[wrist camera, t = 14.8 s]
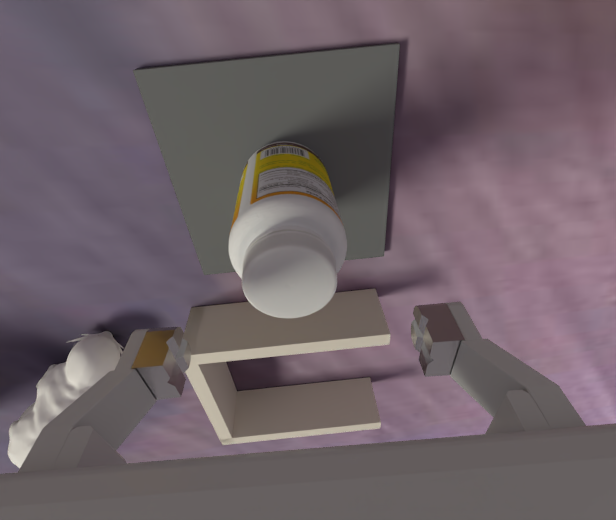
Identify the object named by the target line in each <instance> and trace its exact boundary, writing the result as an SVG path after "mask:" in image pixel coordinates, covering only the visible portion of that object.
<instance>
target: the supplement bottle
mask: <svg viewBox="0 0 616 520" xmlns="http://www.w3.org/2000/svg"><path fill="white" fill-rule="evenodd" d="M346 252H347V239H346V234H345V230H344V226H343V223H342V220H341V217H340V213H339V210H338V207H337V203H336V200H335V197H334V193H333V190H332V187H331V183H330V180H329V176H328V173H327V170H326V168H325V166H324V164H323V162H322V161H321V159H320V158H319V157H318V156H317V155H316V154H315V153H314V152H313V151H312V150H310V149H309V148H307V147H305V146H303V145H301V144H298V143H294V142H287V141H282V142H275V143H271V144H268V145H266V146H264V147H262V148H260V149H259V150H257V151H256V152H255V153H254V154H253V155H252V156H251V157H250V158H249V160H248V161H247V163H246V165H245V167H244V169H243V172H242V177H241V182H240V187H239V192H238V196H237V201H236V206H235V211H234V216H233V221H232V226H231V231H230V236H229V256H230V260H231V263H232V266H233V268H234V269H235V271H236V272H237V274H238V275H239V276H240V277H241V278H242V288H243V292H244V295H245V296H246V298H247V300H248V301H249V302H250V303H251V305H252V306H254V307H255V308H256V309H258V310H259V311H261V312H263V313H265V314H267V315H270V316H273V317H278V318H299V317H303V316H307V315H310V314H312V313H315V312H317V311H318V310H320V309H322V308H323V307H324V306H325V305H326V304H327V303H328V302H329V301H330V300H331V299H332V297H333V295H334V294H335V291H336V288H337V273H338V272H339V270H340V269H341V267H342V265H343V263H344V260H345V257H346Z"/></svg>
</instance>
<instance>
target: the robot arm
mask: <svg viewBox="0 0 616 520" xmlns="http://www.w3.org/2000/svg"><path fill="white" fill-rule="evenodd" d="M413 314H414V317H415V320H414V321H412V324H411V337H412V341H413V344H414V347H415V349H416V350H417V351H419V352H420V356H419V361H420V364H421V367H422V370H423V372H424V375H425V376H442V375H450V377H451V378H452V379H454V380H455V381H456V382H457V383H458V384H459V385H460V386H461V387H462V388H463V389H464V390H465V391H466V392H467V393H468V394H469V395H470V396H471V397H473V398H474V399H475V400H476V401H477V402H478V403H479V404H480V405H481V406H482V407H483V408H484V409H485V410H486V411H487V412H488V413H489V414H491V415H492V416H493V417H494V418H493V420H492V422H491V424H490V426H489V428H488V430H487V432H486V433H485V434H482V435H470V436H458V437H446V438H434V439H421V440H409V441H397V442H385V443H372V444H360V445H347V446H335V447H323V448H310V449H298V450H286V451H274V452H262V453H250V454H238V455H225V456H213V457H201V458H189V459H177V460H164V461H152V462H140V463H128V464H127V463H126V461H125V459H124V458H123V457H122V456H121V455H120V454H119V453H118V452H117V451H116V450H117V449H118V448H119V446H120V445H121V444H122V443H123V441H124V440H125V439H126V438H127V437H128V435H129V434H130V433H131V432H132V430H133V429H134V428H135V427H136V426H137V424H138V423H139V422H140V421H141V420H142V418H143V417H144V416H145V415H146V413H147V412H148V411H149V410H150V409H151V407H152V406H153V405H154V404H155V402H156V400H159V399H168V398H177V397H181V395H182V392H183V388H184V384H185V381H186V379H185V377H184V375H183V373H184V372H185V371H186V370H187V369H188V368H189V365H190V361H191V350H190V345H189V343H188V341H186V340H184V339H183V334H184V333H183V331H182V329H181V327H167V328H151V329H138V330H135V331H134V332H133V333H132V334H131V336H130V338H129V340H128V342H127V344H126V347H125V349H124V351H123V353H122V355H121V357H120V359H119V362H118V364H117V366H116V368H115V370H114V371H109V372H108V373H107V374H106V375H105V376H103V377H102V378H101V379H100V380H99V381H98V382H96V383H95V384H94V385H93V386H92V387H91V388H89V389H88V390H87V391H86V392H85V393H84V394H82V395H81V396H80V397H79V398H78V399H76V400H75V401H74V402H73V403H72V404H71V405H69V406H68V407H67V408H66V409H65V410H64V411H62V412H61V413H60V414H59V415H58V416H57V417H55V418H54V419H53V420H52V421H51V422H49V423H48V424H47V425H46V426H45V427H44V428H43V429H42V431H41V432H40V434H39V436H38V438H37V439H36V441H35V443H34V445H33V446H32V448H31V450H30V452H29V453H28V455H27V457H26V459H25V460H24V462H23V464H22V466H21V467H20V469H19V471H18V473H5V474H0V520H616V424H604V425H592V426H586V425H585V423H584V422H583V421H582V419H581V418H580V416H579V415H578V413H577V412H576V410H575V409H574V407H573V406H572V405H571V403H570V402H569V400H568V399H567V397H566V396H565V394H564V393H563V391H562V390H561V389H560V387H559V386H558V385H557V384H555V383H554V382H552V381H551V380H549V379H548V378H546V377H545V376H543V375H542V374H540V373H539V372H537V371H535V370H534V369H532V368H531V367H529V366H528V365H526V364H525V363H523V362H522V361H520V360H519V359H517V358H516V357H514V356H513V355H511V354H510V353H508V352H507V351H505V350H504V349H502V348H500V347H499V346H497V345H496V344H494V343H493V342H491V341H490V340H488V339H482V337H481V335H480V333H479V332H478V330H477V328H476V326H475V325H474V323H473V321H472V319H471V318H470V316H469V314H468V312H467V311H466V309H465V307H464V305H463V304H462V303H461V302H451V303H439V304H429V305H419V306H415V308H414V312H413Z"/></svg>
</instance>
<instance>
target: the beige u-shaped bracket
mask: <svg viewBox="0 0 616 520" xmlns="http://www.w3.org/2000/svg"><path fill="white" fill-rule="evenodd" d="M183 339H184V340H186V341H188V343H189V345H190V350H191V361H190V365H189V368H188V369H187V370H186V371H185V372H186V374H187V376H188V378H189V380H190V382H191V384H192V386H193V388H194V390H195V392H196V394H197V396H198V398H199V400H200V402H201V404H202V406H203V408H204V409H205V411H206V413H207V415H208V417H209V419H210V421H211V423H212V425H213V427H214V429H215V431H216V433H217V435H218V437H219V439H220V441H221V443H222V445H228V444H237V443H247V442H256V441H265V440H275V439H284V438H293V437H303V436H312V435H322V434H331V433H340V432H350V431H359V430H368V429H378V428H380V426H381V421H380V417H379V413H378V408H377V404H376V400H375V396H374V392H373V388H372V383H371V379H370V377H367V378H358V379H348V380H339V381H330V382H320V383H311V384H301V385H292V386H282V387H273V388H263V389H254V390H244V391H237V390H236V387H235V384H234V382H233V379H232V376H231V374H230V371H229V368H228V366H227V363H226V362H227V361H236V360H246V359H255V358H265V357H274V356H284V355H293V354H303V353H312V352H322V351H331V350H341V349H351V348H360V347H370V346H379V345H389V343H390V331H389V328H388V325H387V322H386V319H385V316H384V313H383V310H382V307H381V304H380V301H379V298H378V295H377V292H376V289H366V290H356V291H346V292H337V293H335V294H334V295H333V297H332V299H331V300H330V301H329V302H328V303H327V304H326V305H325V306H324V307H323V308H322V309H320V310H318V311H317V312H315V313H312V314H310V315H307V316H303V317H299V318H278V317H273V316H270V315H267V314H265V313H263V312H261V311H259V310H258V309H256V308H255V307H254V306H252V305H251V303H250V302H241V303H231V304H221V305H212V306H202V307H193V308H191V310H190V314H189V317H188V321H187V324H186V328H185V332H184V335H183Z"/></svg>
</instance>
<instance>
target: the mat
mask: <svg viewBox="0 0 616 520" xmlns="http://www.w3.org/2000/svg"><path fill="white" fill-rule="evenodd" d="M399 48H400V44H399V43H391V44H381V45H371V46H361V47H351V48H341V49H331V50H321V51H311V52H301V53H291V54H281V55H271V56H261V57H251V58H241V59H231V60H221V61H211V62H201V63H191V64H181V65H171V66H161V67H151V68H141V69H135V70H133V72H134V75H135V78H136V81H137V84H138V87H139V90H140V92H141V95H142V98H143V101H144V104H145V107H146V110H147V113H148V115H149V118H150V121H151V124H152V127H153V130H154V133H155V135H156V138H157V141H158V144H159V147H160V150H161V153H162V156H163V158H164V161H165V164H166V167H167V170H168V173H169V176H170V178H171V181H172V184H173V187H174V190H175V193H176V196H177V199H178V201H179V204H180V207H181V210H182V213H183V216H184V219H185V221H186V224H187V227H188V230H189V233H190V236H191V239H192V242H193V244H194V247H195V250H196V253H197V256H198V259H199V262H200V264H201V267H202V270H203V273H204V275H208V274H218V273H227V272H236V271H235V269H234V268H233V266H232V263H231V260H230V256H229V236H230V231H231V226H232V221H233V216H234V211H235V206H236V201H237V196H238V192H239V187H240V182H241V177H242V172H243V169H244V167H245V165H246V163H247V161H248V160H249V158H250V157H251V156H252V155H253V154H254V153H255V152H256V151H257V150H259V149H260V148H262V147H264V146H266V145H268V144H271V143H275V142H282V141H287V142H294V143H298V144H301V145H303V146H305V147H307V148H309V149H310V150H312V151H313V152H314V153H315V154H316V155H317V156H318V157H319V158H320V159H321V161H322V162H323V164H324V166H325V168H326V170H327V173H328V176H329V180H330V183H331V187H332V190H333V193H334V197H335V200H336V203H337V207H338V210H339V213H340V217H341V220H342V223H343V226H344V230H345V234H346V239H347V252H346V257H345V260H353V259H363V258H372V257H382V256H384V249H385V236H386V222H387V209H388V196H389V182H390V169H391V155H392V142H393V129H394V115H395V102H396V89H397V75H398V62H399Z"/></svg>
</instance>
